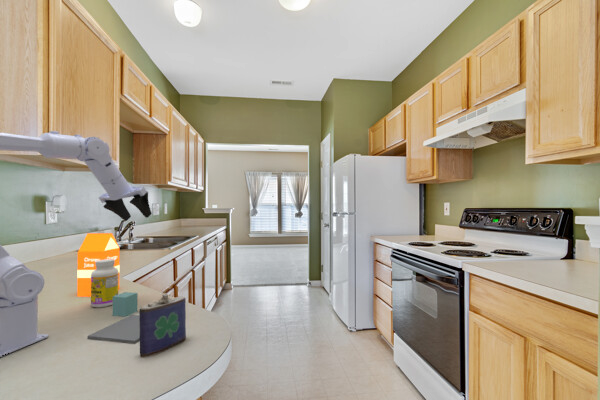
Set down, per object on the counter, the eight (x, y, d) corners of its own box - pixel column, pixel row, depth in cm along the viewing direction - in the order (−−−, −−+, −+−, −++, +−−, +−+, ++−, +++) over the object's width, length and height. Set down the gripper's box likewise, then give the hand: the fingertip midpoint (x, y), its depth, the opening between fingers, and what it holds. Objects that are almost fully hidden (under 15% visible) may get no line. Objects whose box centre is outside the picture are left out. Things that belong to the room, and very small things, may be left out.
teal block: (125, 316, 72) (125, 297, 72) (112, 315, 73) (112, 296, 73) (137, 311, 76) (137, 292, 76) (125, 310, 77) (125, 292, 77)
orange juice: (103, 296, 89) (104, 234, 90) (76, 296, 89) (77, 234, 90) (119, 289, 97) (120, 232, 97) (95, 289, 97) (95, 232, 98)
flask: (181, 336, 61) (181, 286, 61) (189, 340, 59) (189, 289, 59) (136, 354, 53) (136, 298, 53) (144, 359, 51) (144, 301, 52)
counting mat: (134, 343, 57) (134, 340, 57) (87, 338, 60) (87, 335, 60) (172, 320, 69) (172, 318, 69) (131, 317, 72) (131, 314, 72)
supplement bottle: (86, 306, 80) (86, 261, 81) (110, 299, 86) (110, 257, 87) (98, 309, 77) (98, 263, 78) (123, 302, 83) (123, 259, 84)
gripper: (141, 167, 78) (165, 206, 86) (100, 176, 82) (127, 212, 89) (125, 180, 73) (152, 220, 80) (82, 188, 76) (112, 226, 83)
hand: (138, 217), depth 84 cm, fingers open, 7 cm apart
